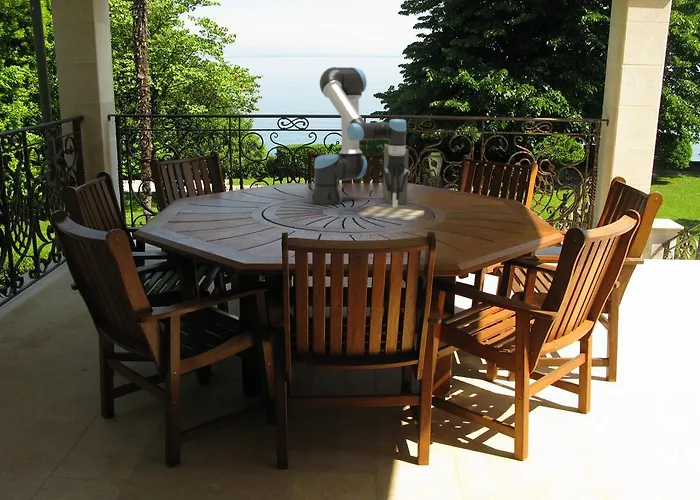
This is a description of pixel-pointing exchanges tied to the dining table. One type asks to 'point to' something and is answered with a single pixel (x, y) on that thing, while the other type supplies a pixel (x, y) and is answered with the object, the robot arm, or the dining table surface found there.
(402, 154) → the robot arm
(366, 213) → the laid boards
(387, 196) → the olive curved-top slab
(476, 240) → the dining table surface
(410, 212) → the plank
